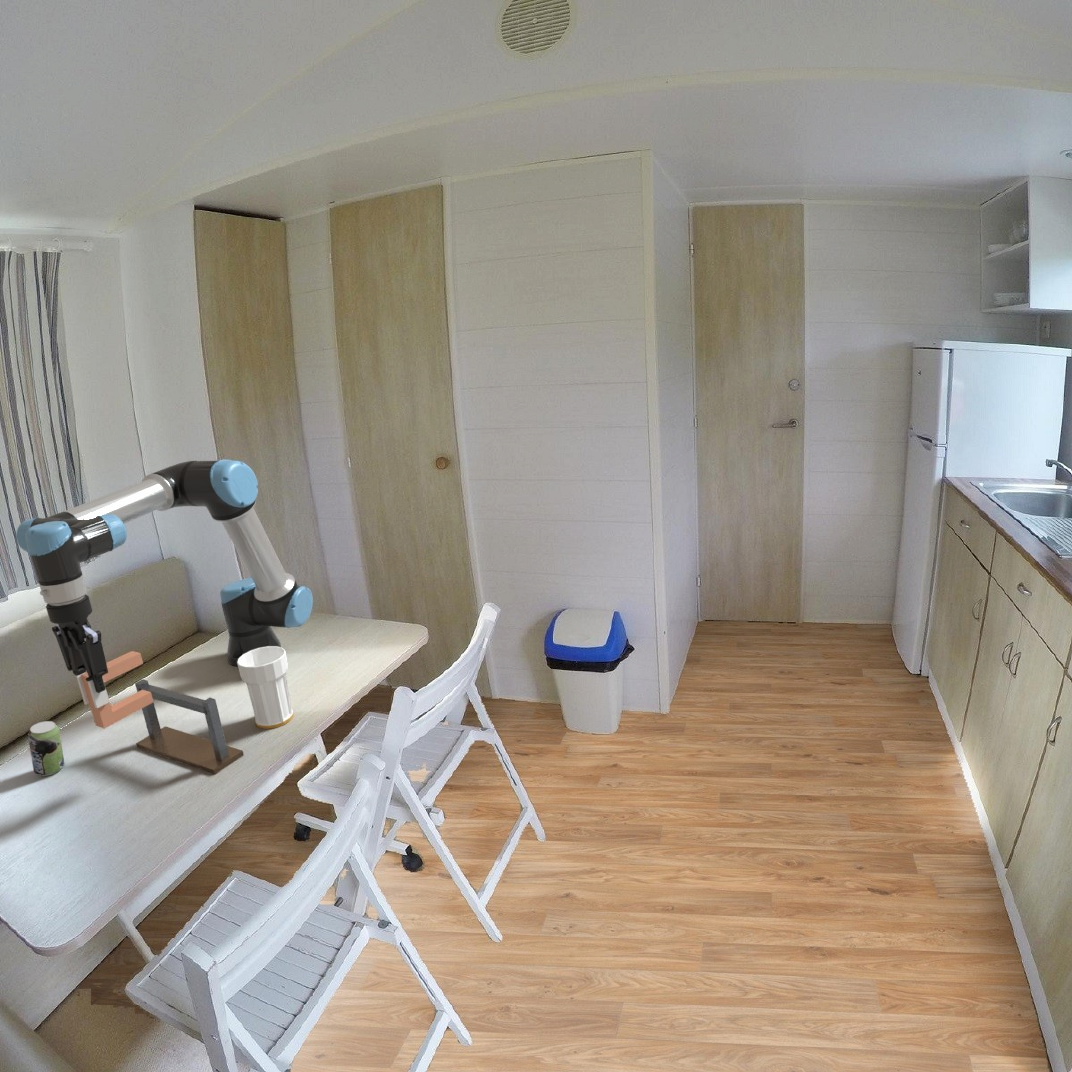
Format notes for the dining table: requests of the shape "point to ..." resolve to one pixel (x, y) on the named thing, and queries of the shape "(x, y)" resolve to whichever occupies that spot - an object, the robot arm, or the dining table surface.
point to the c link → (125, 707)
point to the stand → (182, 744)
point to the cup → (267, 685)
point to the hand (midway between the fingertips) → (97, 702)
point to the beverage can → (46, 748)
